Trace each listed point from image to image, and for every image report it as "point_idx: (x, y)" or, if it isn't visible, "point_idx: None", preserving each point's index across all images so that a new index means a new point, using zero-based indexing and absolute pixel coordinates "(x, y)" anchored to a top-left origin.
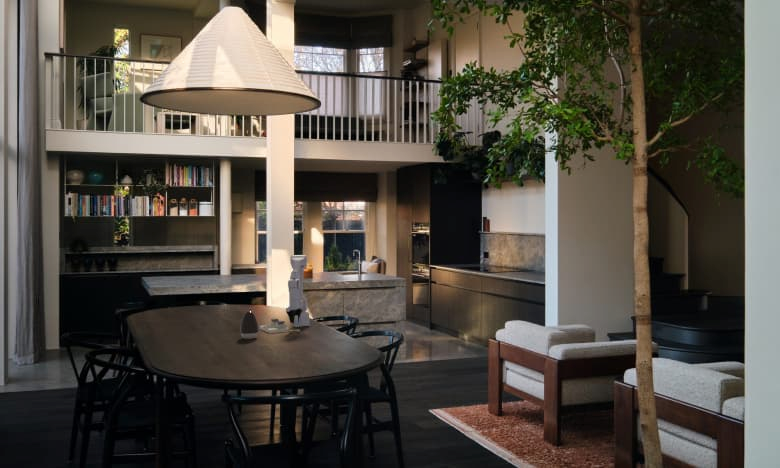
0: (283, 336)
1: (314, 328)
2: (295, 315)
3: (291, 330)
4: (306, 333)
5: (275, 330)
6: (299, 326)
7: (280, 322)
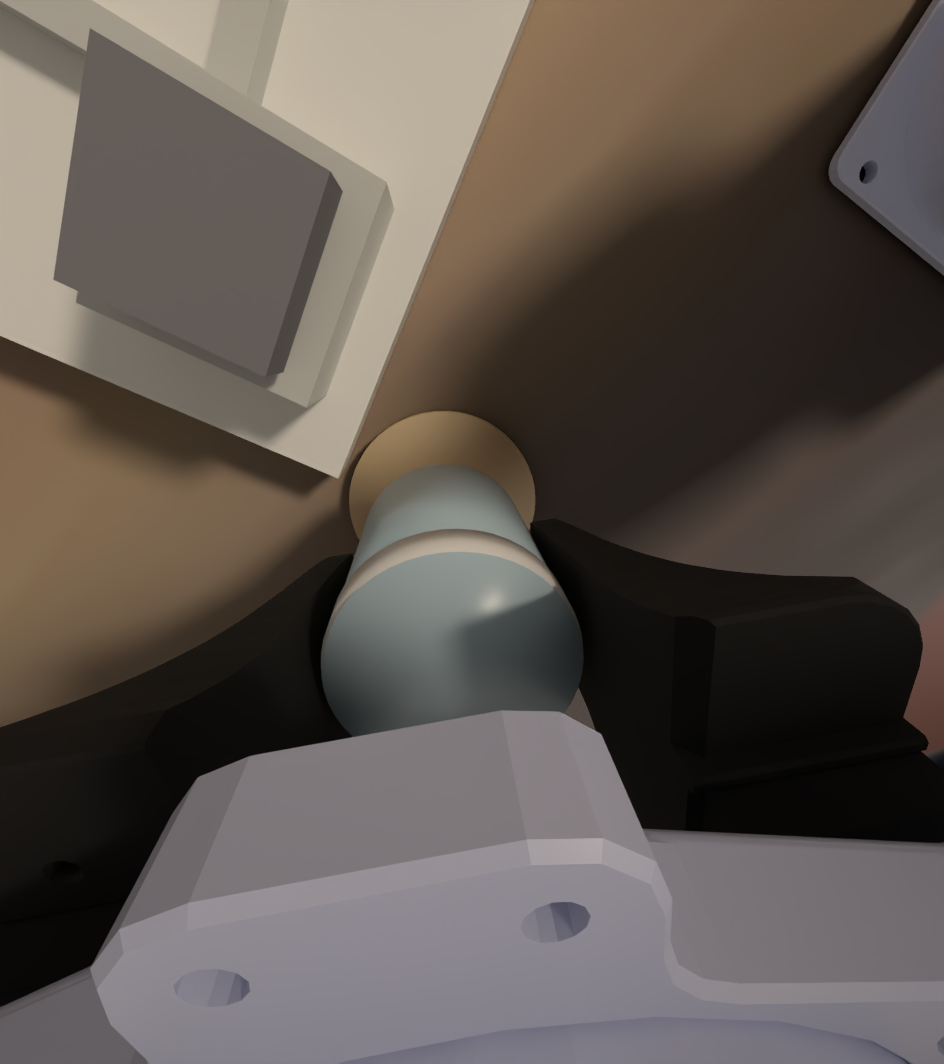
0: (6, 699)
1: (780, 569)
2: (502, 688)
3: (390, 481)
4: None
5: (34, 341)
6: (881, 224)
7: (130, 310)
